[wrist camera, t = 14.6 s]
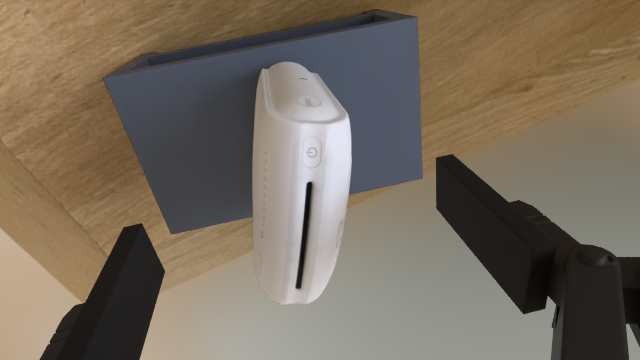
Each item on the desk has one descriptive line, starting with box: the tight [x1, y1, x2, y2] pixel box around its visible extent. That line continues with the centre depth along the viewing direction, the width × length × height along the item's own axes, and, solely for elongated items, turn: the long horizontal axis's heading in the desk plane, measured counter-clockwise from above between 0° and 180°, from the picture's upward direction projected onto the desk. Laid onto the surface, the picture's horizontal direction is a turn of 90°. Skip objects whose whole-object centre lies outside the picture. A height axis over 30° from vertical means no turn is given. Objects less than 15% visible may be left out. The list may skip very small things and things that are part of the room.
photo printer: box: [252, 62, 352, 305], centre depth 21 cm, size 10×4×12 cm, turn 174°
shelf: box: [103, 9, 423, 234], centre depth 30 cm, size 20×12×9 cm, turn 99°
